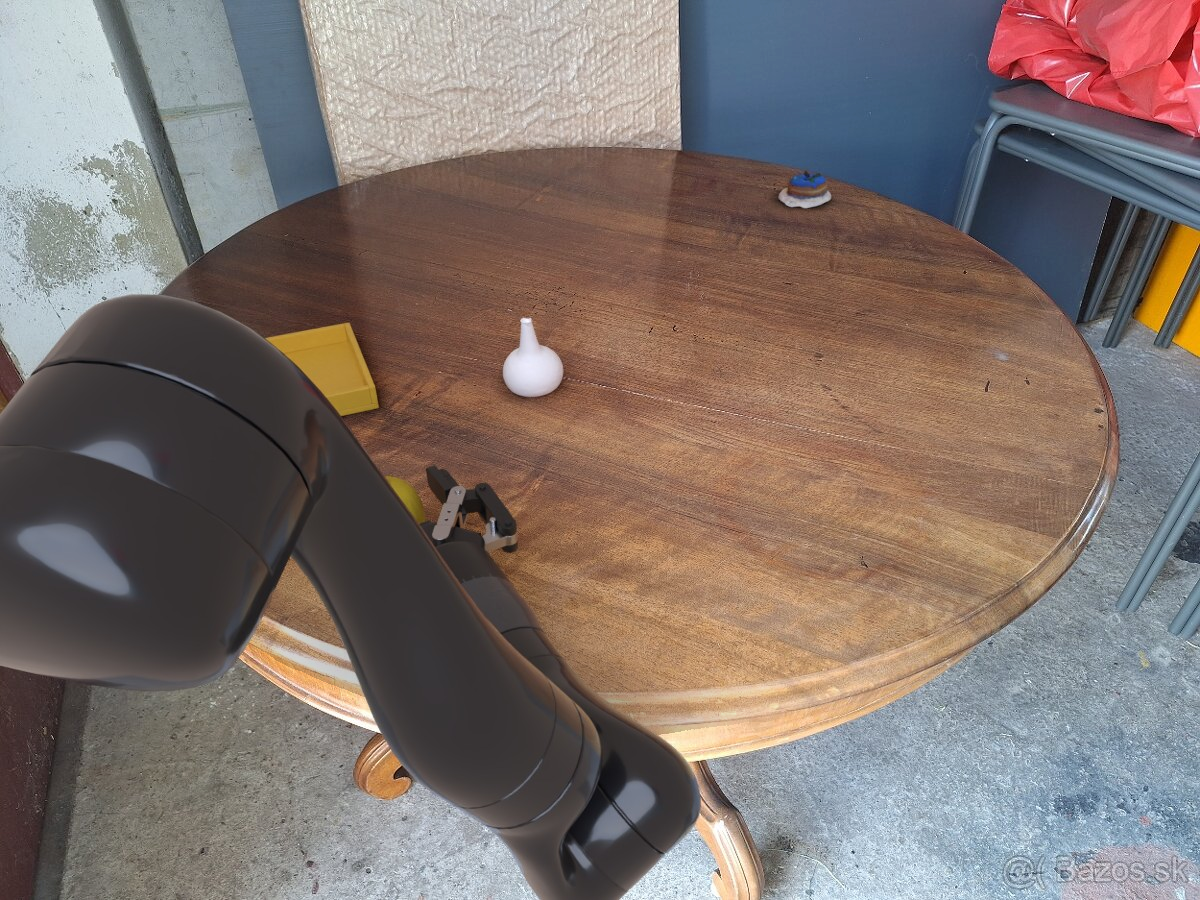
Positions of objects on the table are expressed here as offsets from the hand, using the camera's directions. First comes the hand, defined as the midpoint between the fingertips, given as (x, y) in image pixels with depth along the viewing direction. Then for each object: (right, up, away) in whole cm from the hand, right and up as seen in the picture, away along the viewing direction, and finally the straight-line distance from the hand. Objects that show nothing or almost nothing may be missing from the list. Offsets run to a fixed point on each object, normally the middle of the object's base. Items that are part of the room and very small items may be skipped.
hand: (380, 492), depth 71 cm
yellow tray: (-14, +10, +23) cm, 29 cm away
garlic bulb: (+10, +10, +24) cm, 28 cm away
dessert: (+48, +41, +65) cm, 91 cm away
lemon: (+1, -5, +3) cm, 6 cm away
